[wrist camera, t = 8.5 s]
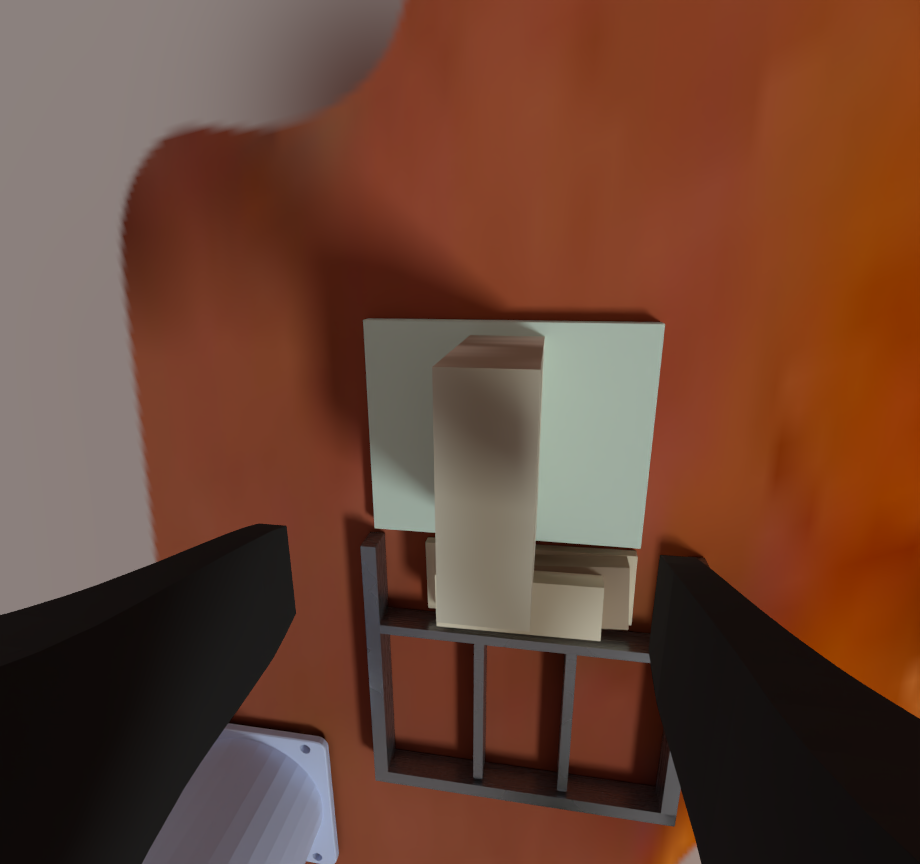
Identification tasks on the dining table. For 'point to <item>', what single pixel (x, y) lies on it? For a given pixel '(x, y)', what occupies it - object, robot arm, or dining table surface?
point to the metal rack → (478, 773)
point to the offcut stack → (568, 591)
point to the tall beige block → (487, 479)
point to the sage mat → (562, 422)
